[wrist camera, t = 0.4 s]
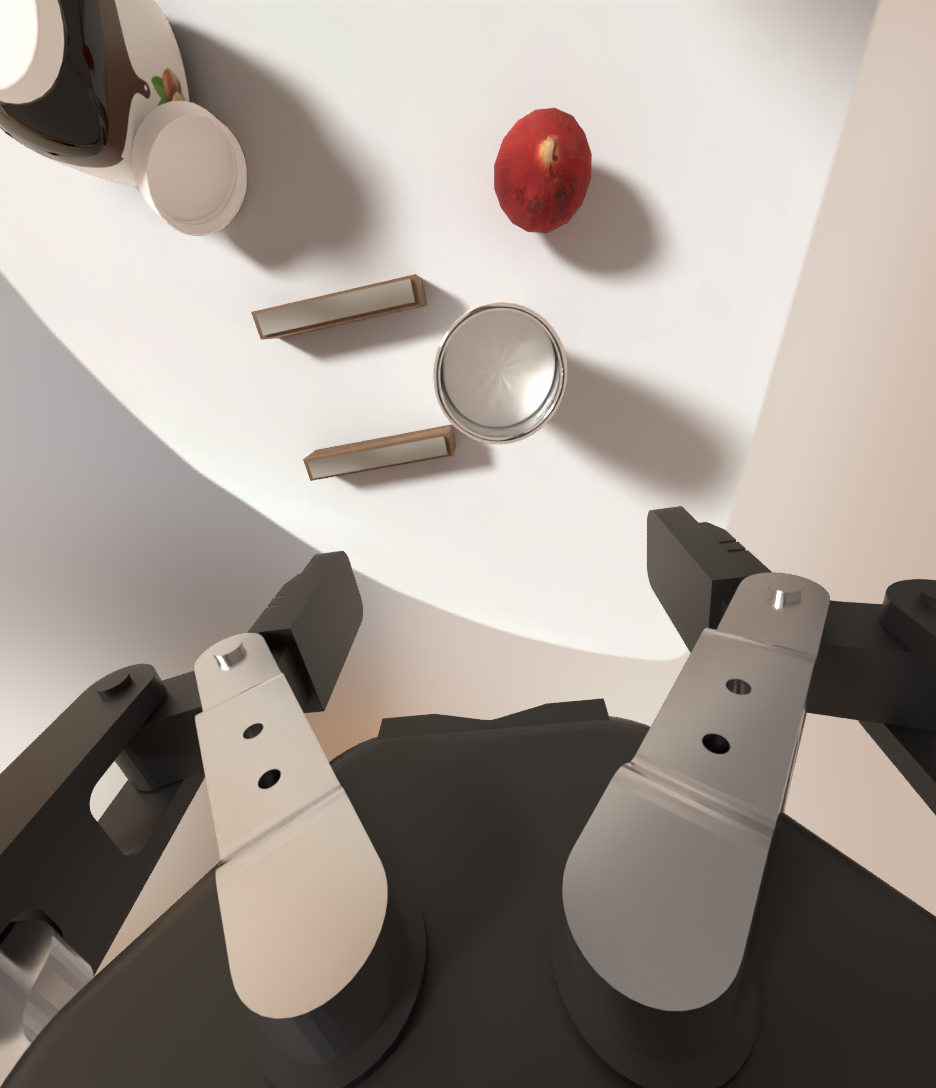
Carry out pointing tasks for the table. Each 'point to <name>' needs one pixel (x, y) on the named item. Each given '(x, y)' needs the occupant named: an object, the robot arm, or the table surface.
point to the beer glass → (500, 372)
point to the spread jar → (117, 106)
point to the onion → (543, 170)
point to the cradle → (346, 310)
